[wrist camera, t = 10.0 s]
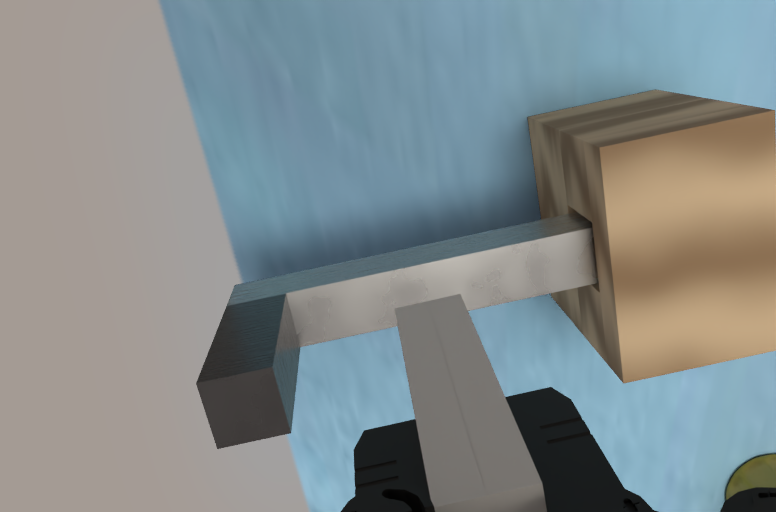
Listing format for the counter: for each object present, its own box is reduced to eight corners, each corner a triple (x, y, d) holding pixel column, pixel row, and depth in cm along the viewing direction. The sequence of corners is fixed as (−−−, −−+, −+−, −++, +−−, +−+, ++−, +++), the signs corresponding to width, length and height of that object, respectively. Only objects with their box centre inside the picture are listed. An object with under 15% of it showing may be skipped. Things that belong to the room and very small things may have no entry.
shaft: (234, 285, 37) (196, 383, 27) (688, 188, 37) (826, 247, 27) (249, 335, 38) (217, 449, 28) (691, 240, 38) (825, 317, 28)
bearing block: (527, 116, 42) (599, 147, 31) (655, 89, 42) (775, 110, 31) (551, 296, 46) (623, 383, 34) (669, 271, 46) (779, 349, 34)
